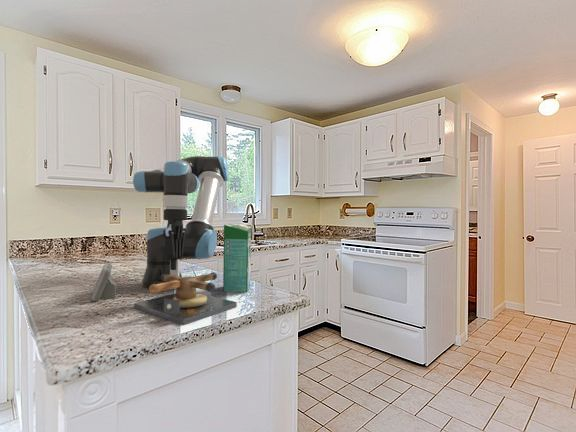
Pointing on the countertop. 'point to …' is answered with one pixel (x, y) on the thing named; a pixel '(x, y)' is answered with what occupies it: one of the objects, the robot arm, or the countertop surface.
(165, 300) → the stand
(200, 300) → the capstan
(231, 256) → the milk carton
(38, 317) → the countertop surface
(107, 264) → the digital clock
